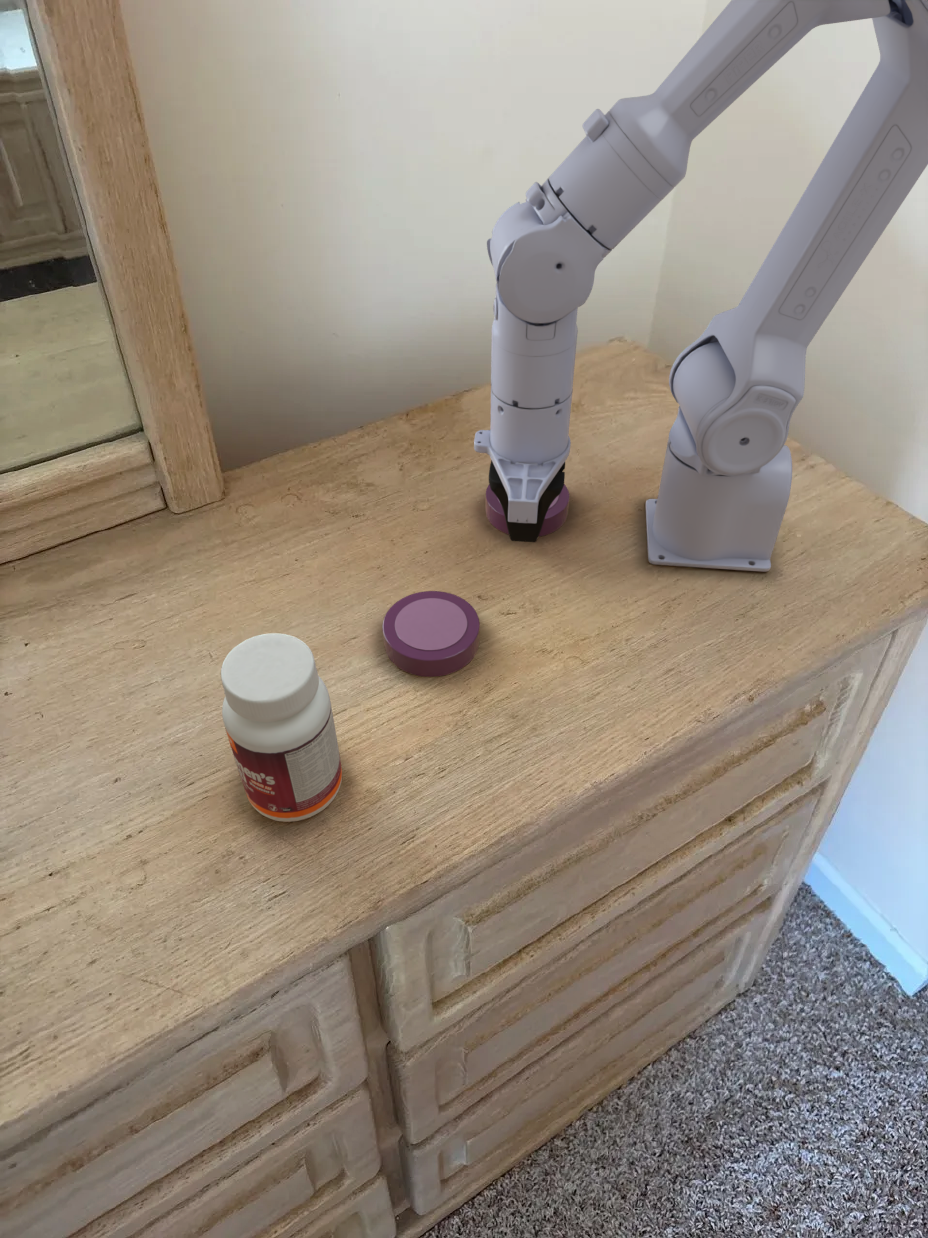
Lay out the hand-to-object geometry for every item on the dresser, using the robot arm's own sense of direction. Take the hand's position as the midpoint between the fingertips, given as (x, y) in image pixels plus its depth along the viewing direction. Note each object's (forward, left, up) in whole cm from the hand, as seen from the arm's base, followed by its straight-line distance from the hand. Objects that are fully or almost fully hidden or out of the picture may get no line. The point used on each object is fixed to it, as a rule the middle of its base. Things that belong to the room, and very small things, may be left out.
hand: (523, 536), depth 73 cm
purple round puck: (0, -4, -1) cm, 5 cm away
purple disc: (+6, +11, -1) cm, 13 cm away
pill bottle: (+13, +25, -1) cm, 28 cm away
